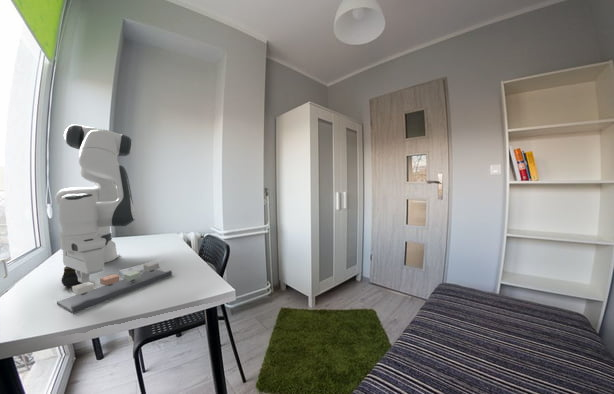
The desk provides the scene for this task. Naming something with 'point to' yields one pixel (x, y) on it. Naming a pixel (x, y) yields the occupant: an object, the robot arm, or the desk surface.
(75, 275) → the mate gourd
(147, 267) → the key
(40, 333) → the desk surface
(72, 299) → the base
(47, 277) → the desk surface
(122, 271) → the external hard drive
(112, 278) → the key
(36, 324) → the desk surface
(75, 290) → the key
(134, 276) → the key
